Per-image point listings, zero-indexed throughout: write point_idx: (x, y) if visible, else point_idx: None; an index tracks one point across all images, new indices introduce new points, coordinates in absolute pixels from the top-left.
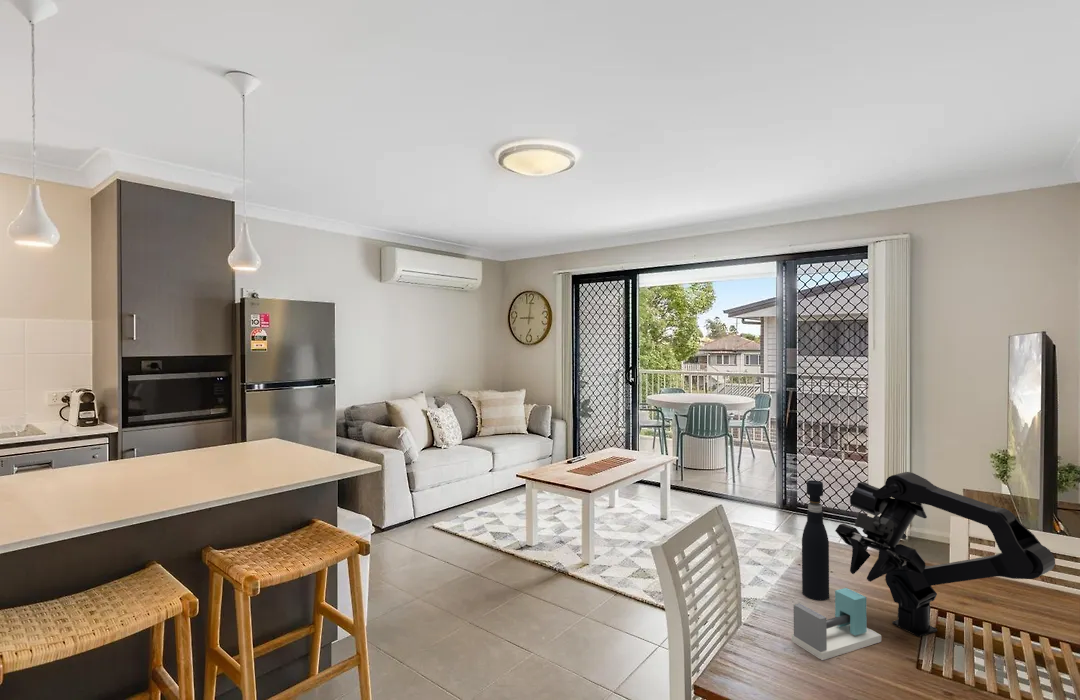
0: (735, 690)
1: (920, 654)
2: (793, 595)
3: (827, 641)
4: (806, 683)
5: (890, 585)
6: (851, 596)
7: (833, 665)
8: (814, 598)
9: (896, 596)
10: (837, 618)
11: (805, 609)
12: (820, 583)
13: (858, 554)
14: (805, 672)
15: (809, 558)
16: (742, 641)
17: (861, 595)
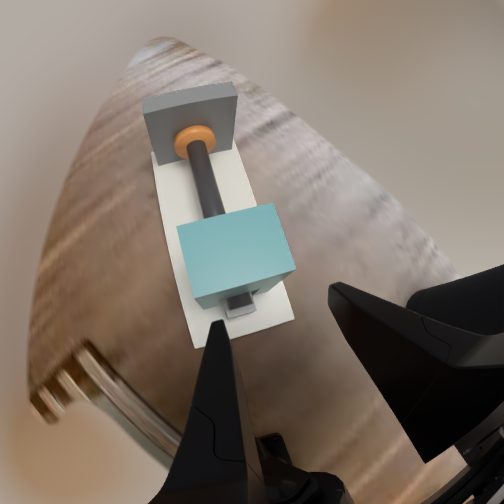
0: (139, 51)
1: (134, 397)
2: (422, 265)
3: (189, 186)
4: (113, 113)
5: (294, 475)
6: (210, 234)
7: (134, 172)
8: (408, 303)
9: (265, 468)
10: (210, 208)
11: (199, 91)
12: (432, 312)
13: (424, 362)
14: (134, 121)
15: (489, 273)
16: (244, 81)
17: (212, 286)
